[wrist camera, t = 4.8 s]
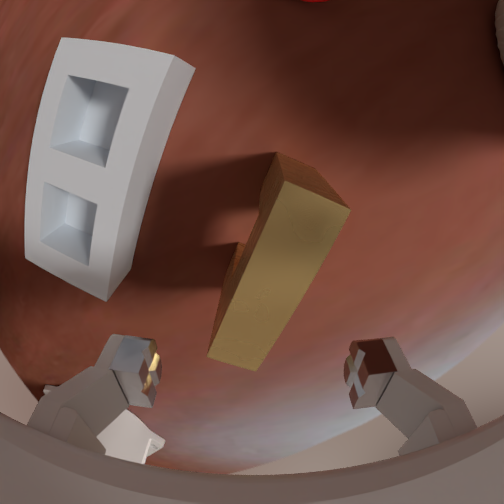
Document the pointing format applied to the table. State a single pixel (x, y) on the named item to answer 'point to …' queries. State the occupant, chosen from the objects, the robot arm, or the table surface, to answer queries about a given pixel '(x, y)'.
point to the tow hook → (315, 0)
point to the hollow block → (98, 158)
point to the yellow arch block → (275, 261)
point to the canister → (500, 27)
